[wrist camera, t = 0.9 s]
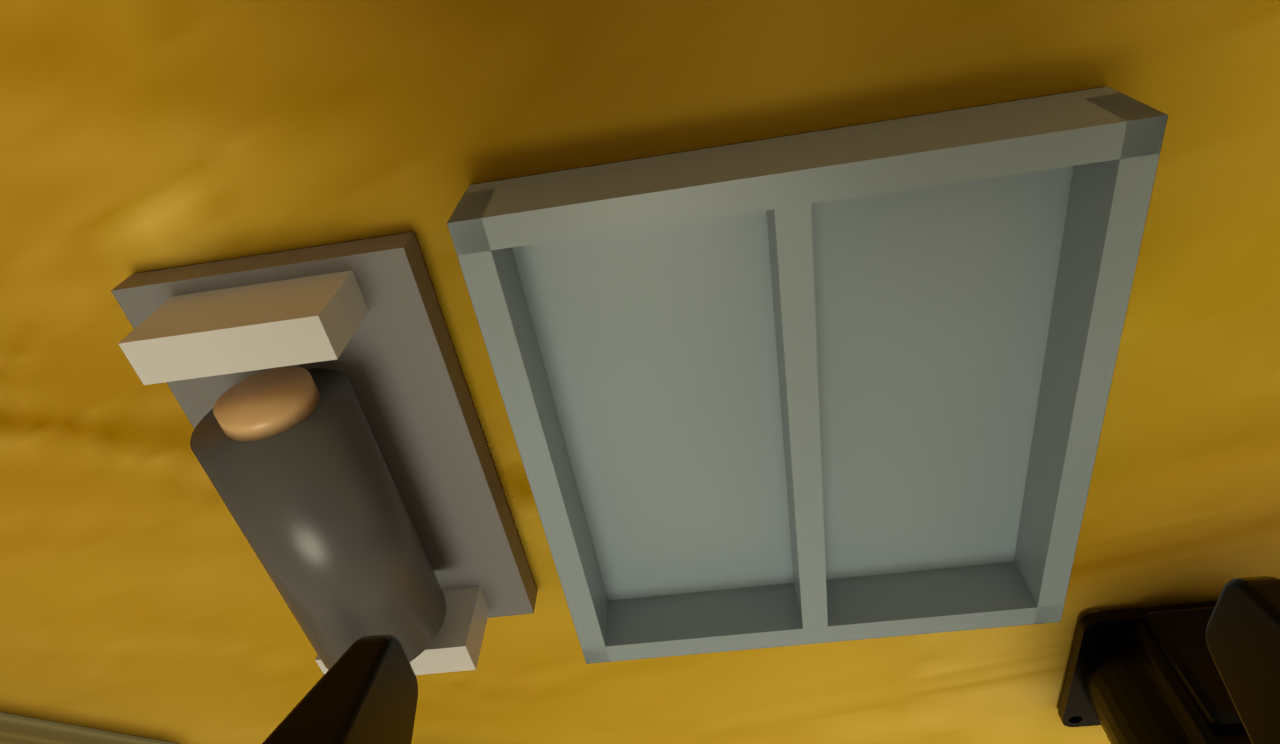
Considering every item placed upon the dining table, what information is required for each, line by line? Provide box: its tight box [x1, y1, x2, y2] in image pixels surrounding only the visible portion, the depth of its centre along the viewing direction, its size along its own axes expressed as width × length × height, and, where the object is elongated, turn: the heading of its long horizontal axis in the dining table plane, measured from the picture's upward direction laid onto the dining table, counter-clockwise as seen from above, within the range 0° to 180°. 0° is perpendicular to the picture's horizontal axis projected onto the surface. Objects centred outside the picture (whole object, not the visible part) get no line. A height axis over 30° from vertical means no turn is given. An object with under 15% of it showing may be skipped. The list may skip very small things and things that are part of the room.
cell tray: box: [447, 87, 1168, 664], centre depth 22 cm, size 16×15×2 cm
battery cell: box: [190, 366, 446, 670], centre depth 22 cm, size 9×4×4 cm, turn 9°
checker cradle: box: [111, 232, 537, 675], centre depth 23 cm, size 14×8×3 cm, turn 9°
